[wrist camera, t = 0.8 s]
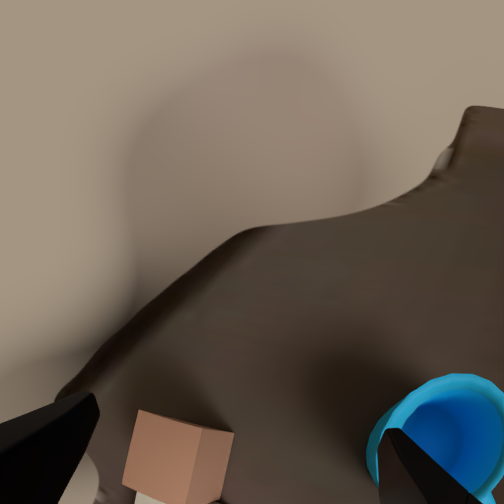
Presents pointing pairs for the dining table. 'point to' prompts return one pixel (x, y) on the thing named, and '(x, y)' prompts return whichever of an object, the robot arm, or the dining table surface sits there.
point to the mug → (452, 430)
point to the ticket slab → (152, 500)
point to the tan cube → (177, 460)
